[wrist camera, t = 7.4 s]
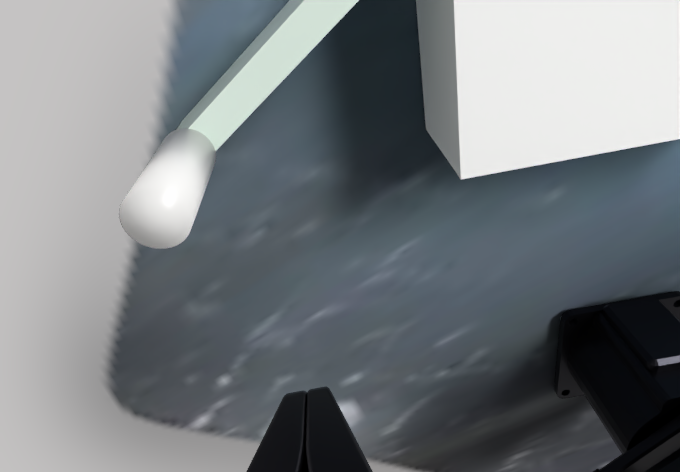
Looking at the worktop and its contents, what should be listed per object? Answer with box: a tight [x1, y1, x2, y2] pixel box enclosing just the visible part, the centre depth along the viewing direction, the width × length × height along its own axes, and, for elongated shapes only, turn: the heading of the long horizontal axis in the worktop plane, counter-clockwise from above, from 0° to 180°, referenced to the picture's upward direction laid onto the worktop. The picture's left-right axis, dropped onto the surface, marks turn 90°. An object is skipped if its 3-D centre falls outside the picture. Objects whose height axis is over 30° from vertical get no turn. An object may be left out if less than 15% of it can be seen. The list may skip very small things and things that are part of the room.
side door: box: [119, 0, 359, 249], centre depth 14 cm, size 10×2×9 cm, turn 134°
